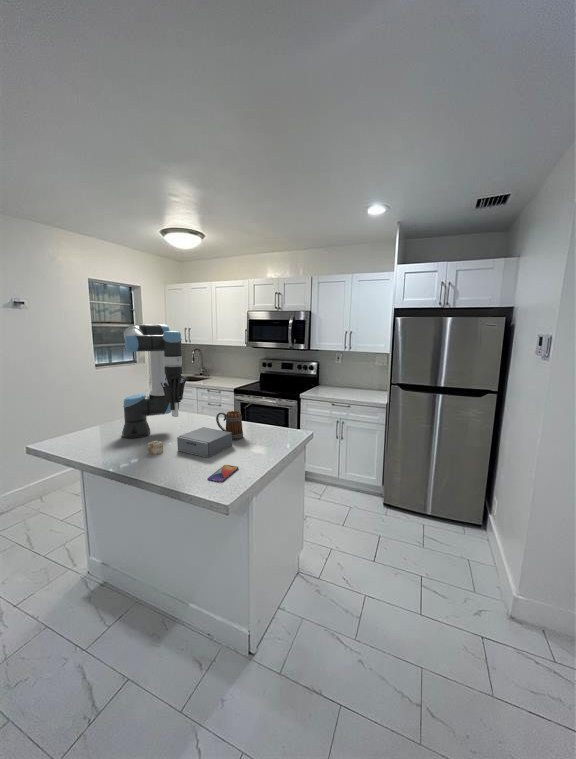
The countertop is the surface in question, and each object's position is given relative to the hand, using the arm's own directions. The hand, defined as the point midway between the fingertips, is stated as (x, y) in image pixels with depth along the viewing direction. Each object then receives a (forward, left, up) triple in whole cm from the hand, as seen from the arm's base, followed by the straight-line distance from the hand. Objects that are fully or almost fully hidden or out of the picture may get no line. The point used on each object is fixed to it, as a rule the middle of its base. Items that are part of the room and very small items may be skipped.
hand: (175, 416), depth 147 cm
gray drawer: (0, +18, -21) cm, 28 cm away
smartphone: (+28, -1, -22) cm, 36 cm away
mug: (0, +40, -22) cm, 45 cm away
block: (-18, +3, -22) cm, 28 cm away
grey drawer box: (0, +20, -22) cm, 29 cm away
